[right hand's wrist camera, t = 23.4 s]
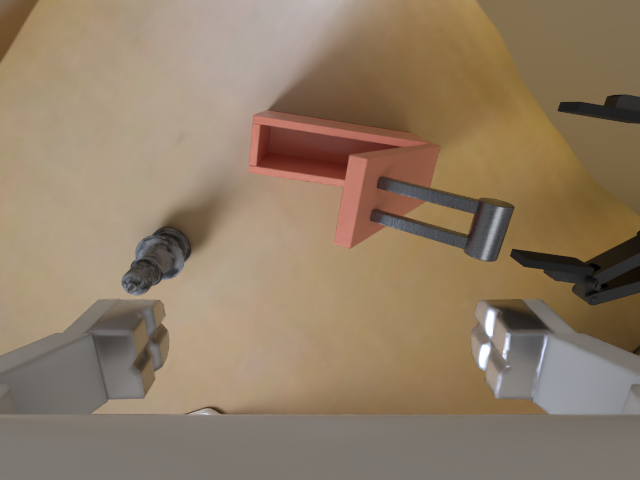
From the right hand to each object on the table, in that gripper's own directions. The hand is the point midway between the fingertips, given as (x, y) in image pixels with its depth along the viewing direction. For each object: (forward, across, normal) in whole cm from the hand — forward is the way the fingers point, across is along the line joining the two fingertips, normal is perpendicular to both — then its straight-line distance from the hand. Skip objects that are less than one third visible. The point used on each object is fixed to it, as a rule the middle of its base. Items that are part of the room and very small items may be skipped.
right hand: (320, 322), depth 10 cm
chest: (+39, -2, 0) cm, 39 cm away
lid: (+21, -5, +1) cm, 22 cm away
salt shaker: (+39, +20, +14) cm, 46 cm away
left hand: (+26, -20, +2) cm, 32 cm away
